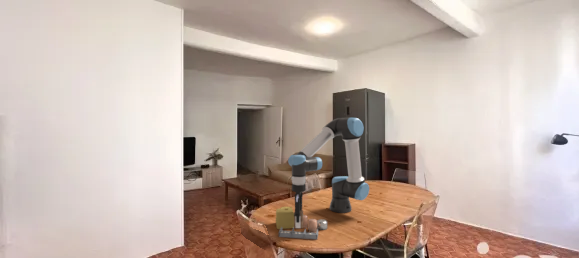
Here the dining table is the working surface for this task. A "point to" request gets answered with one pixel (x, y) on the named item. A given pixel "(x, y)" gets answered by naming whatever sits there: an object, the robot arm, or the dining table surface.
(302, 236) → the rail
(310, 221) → the pale pink egg
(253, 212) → the dining table surface
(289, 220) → the cheese
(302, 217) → the walnut post
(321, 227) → the chrome metal ball
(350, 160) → the robot arm
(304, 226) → the brown egg
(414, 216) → the dining table surface
